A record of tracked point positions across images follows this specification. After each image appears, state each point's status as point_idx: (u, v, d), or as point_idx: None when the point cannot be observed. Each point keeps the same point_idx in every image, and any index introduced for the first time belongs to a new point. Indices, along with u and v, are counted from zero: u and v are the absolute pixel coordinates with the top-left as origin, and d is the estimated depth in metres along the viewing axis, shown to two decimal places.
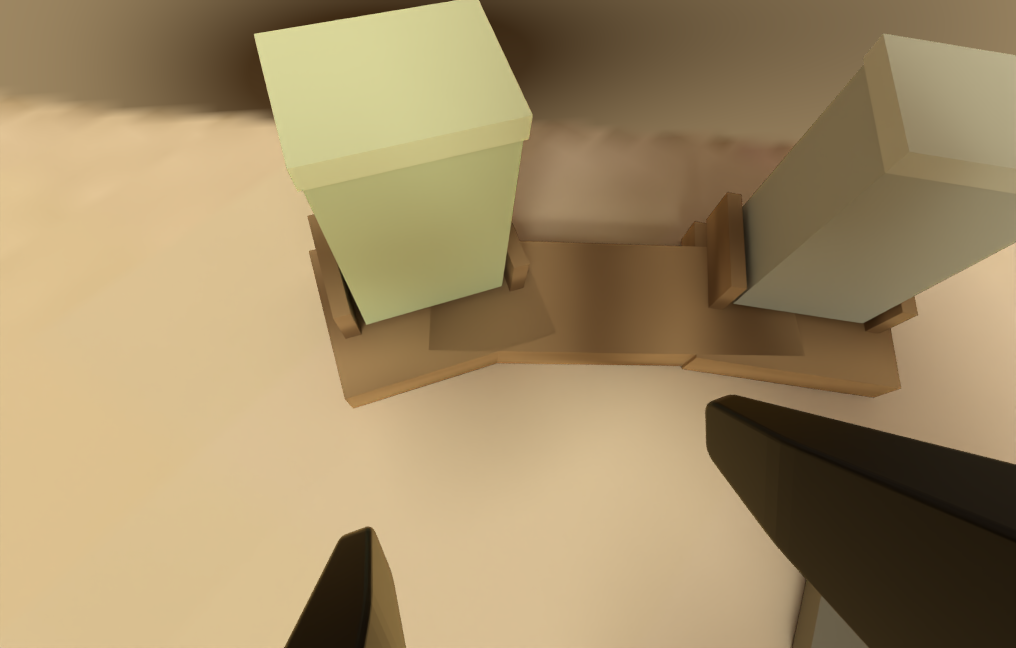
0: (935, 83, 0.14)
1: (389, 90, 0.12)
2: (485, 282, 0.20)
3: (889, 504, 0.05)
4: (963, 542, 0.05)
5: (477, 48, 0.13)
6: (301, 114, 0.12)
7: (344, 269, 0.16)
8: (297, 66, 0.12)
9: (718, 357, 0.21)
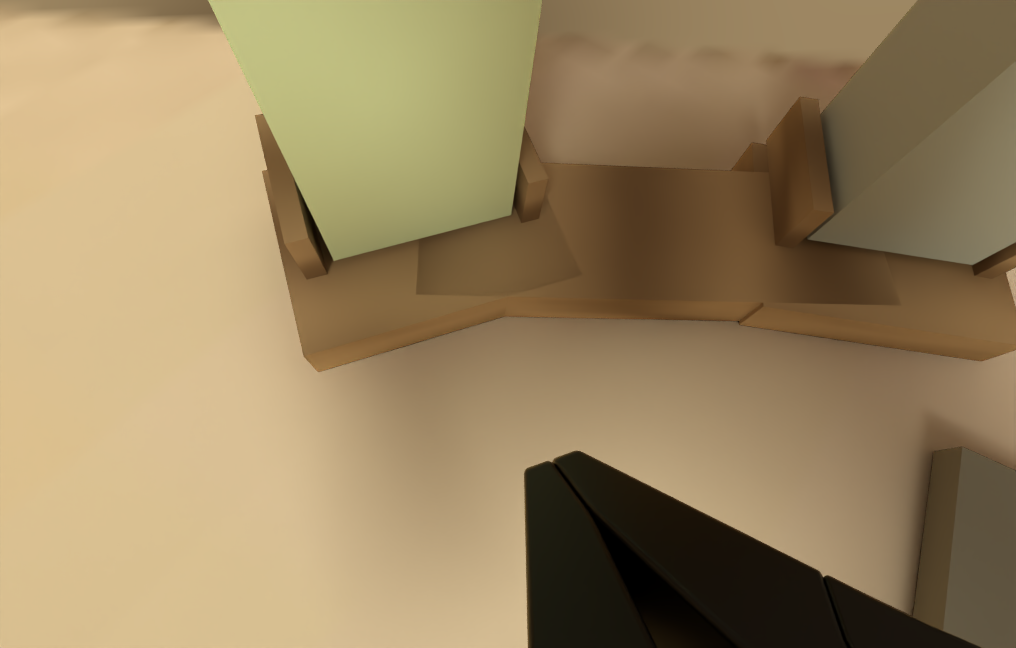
0: None
1: None
2: (490, 206, 0.15)
3: (671, 601, 0.05)
4: None
5: None
6: None
7: (290, 158, 0.11)
8: None
9: (791, 306, 0.16)
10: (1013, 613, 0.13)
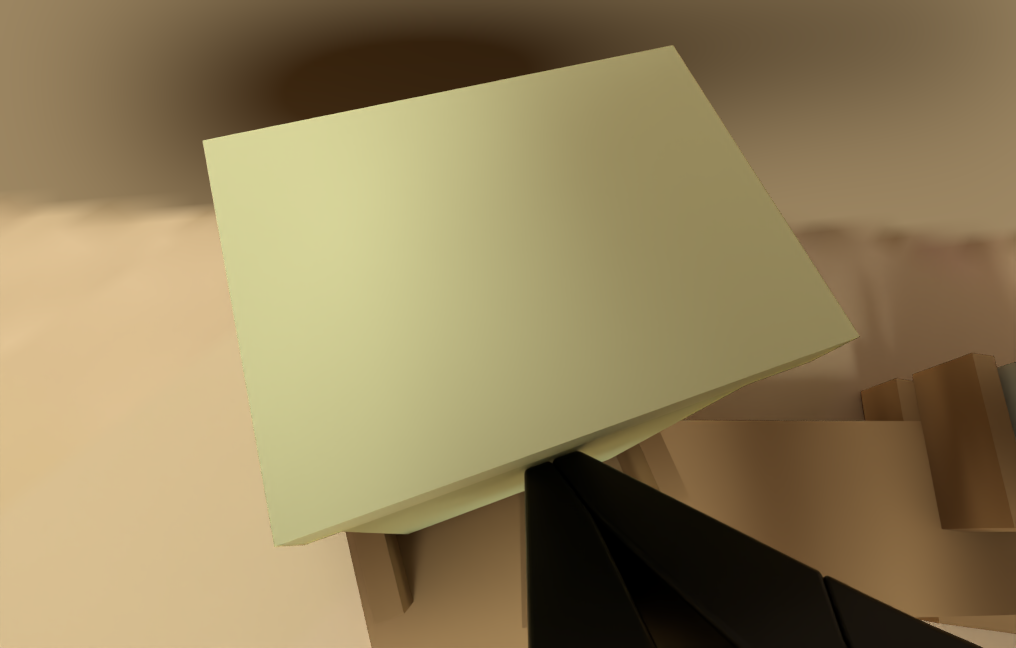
0: None
1: (521, 280, 0.05)
2: None
3: (671, 601, 0.05)
4: None
5: (698, 163, 0.06)
6: (313, 360, 0.05)
7: (386, 530, 0.09)
8: (302, 222, 0.05)
9: (972, 620, 0.13)
10: None
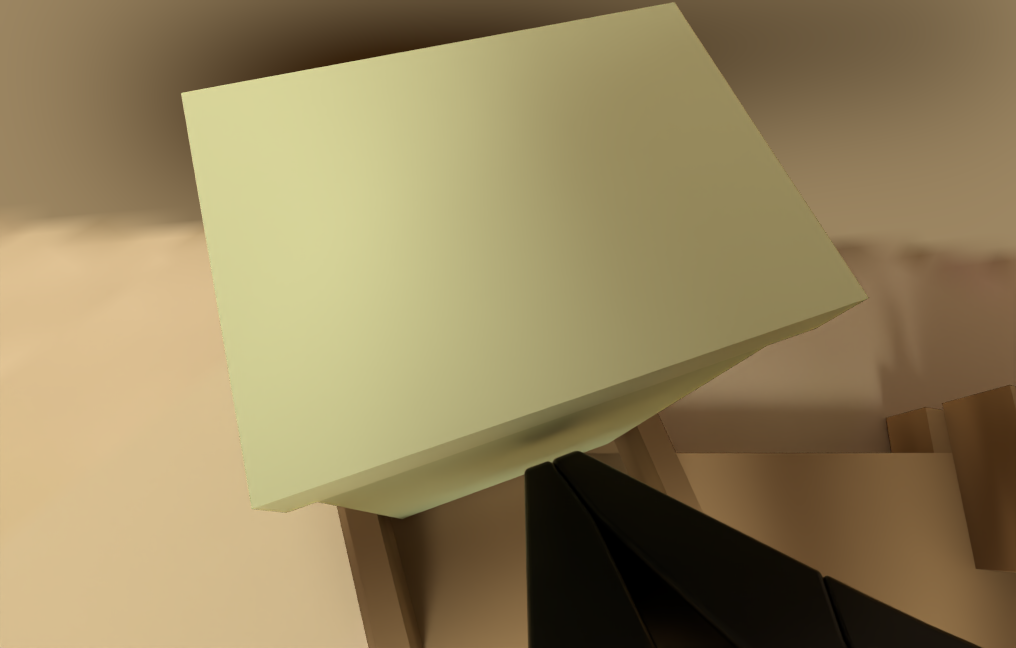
0: None
1: (515, 238, 0.05)
2: (588, 448, 0.13)
3: (671, 601, 0.05)
4: None
5: (700, 121, 0.06)
6: (295, 318, 0.04)
7: (378, 510, 0.08)
8: (285, 177, 0.05)
9: None
10: None
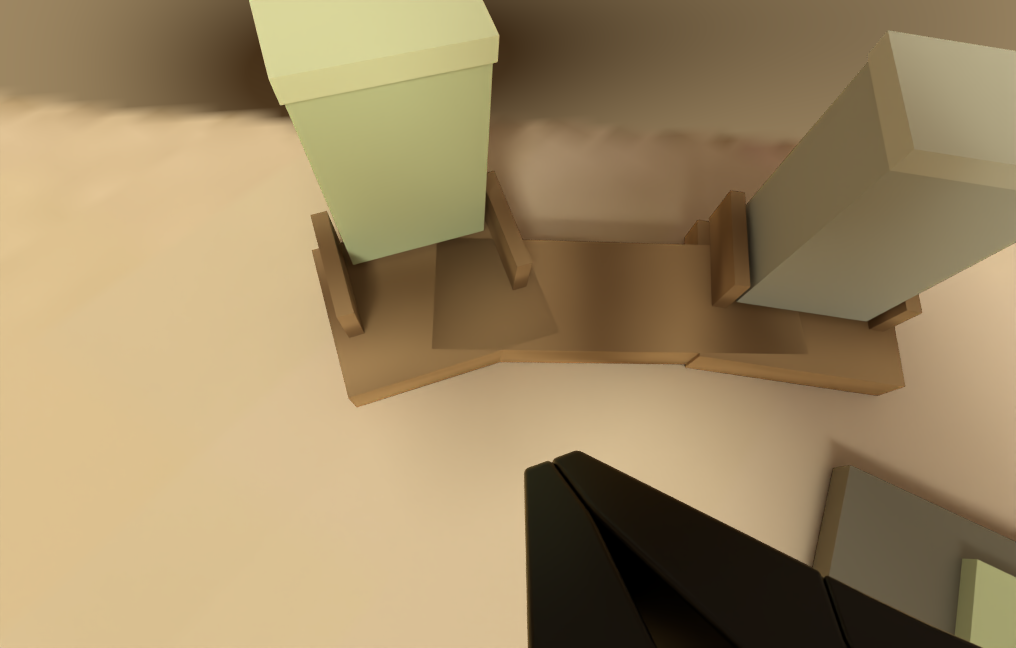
0: (940, 80, 0.14)
1: (365, 12, 0.13)
2: (467, 224, 0.21)
3: (671, 601, 0.05)
4: None
5: None
6: (283, 32, 0.12)
7: (328, 198, 0.16)
8: None
9: (721, 355, 0.20)
10: (877, 590, 0.18)
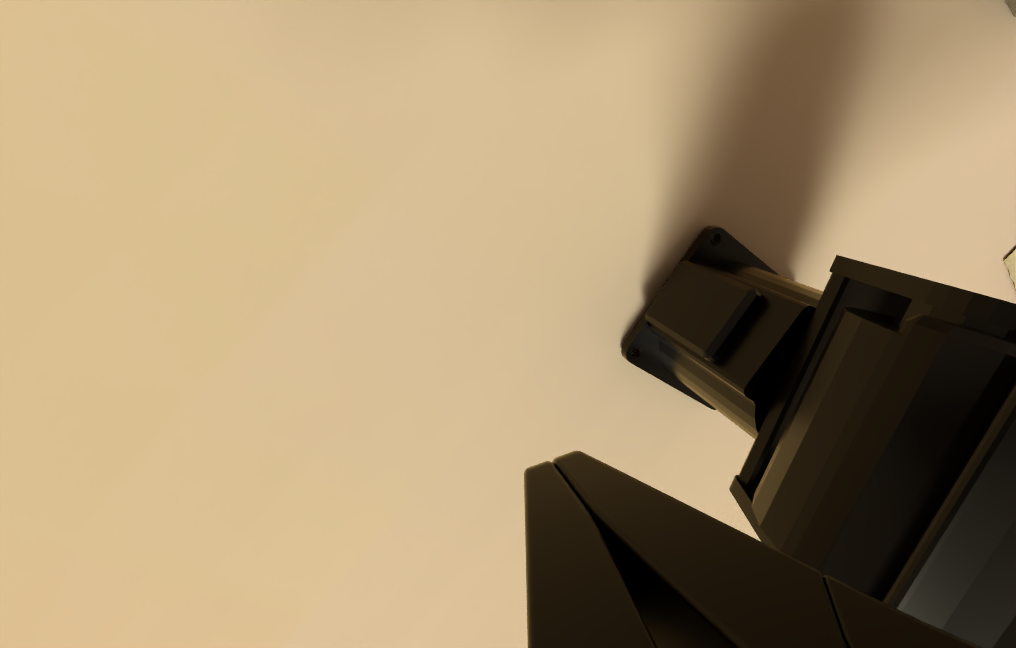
0: None
1: None
2: None
3: (671, 601, 0.05)
4: None
5: None
6: None
7: None
8: None
9: None
10: None
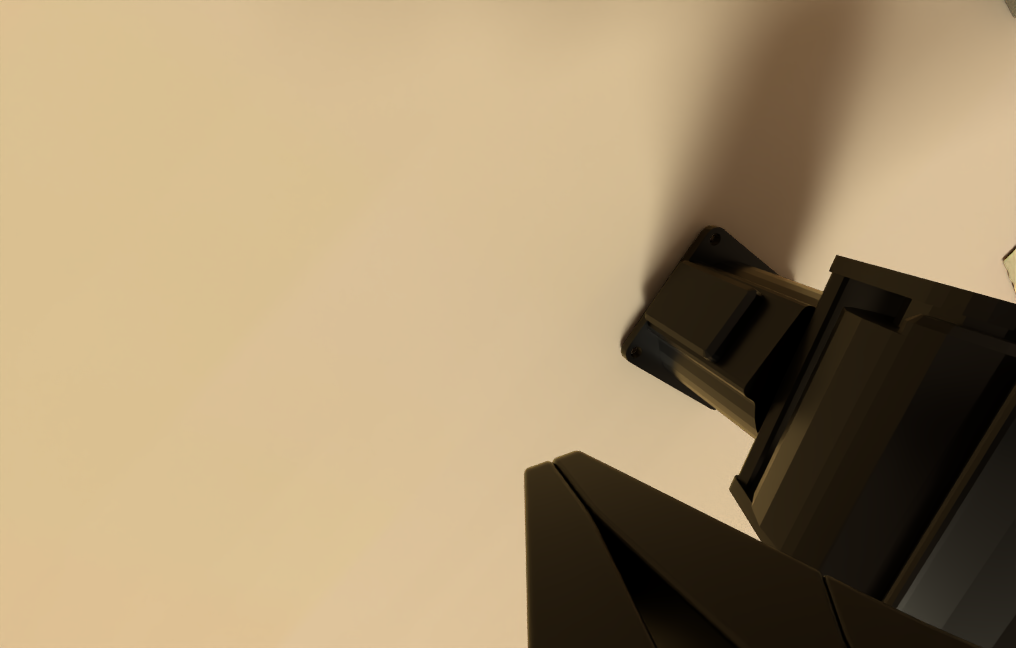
0: None
1: None
2: None
3: (671, 601, 0.05)
4: None
5: None
6: None
7: None
8: None
9: None
10: None
